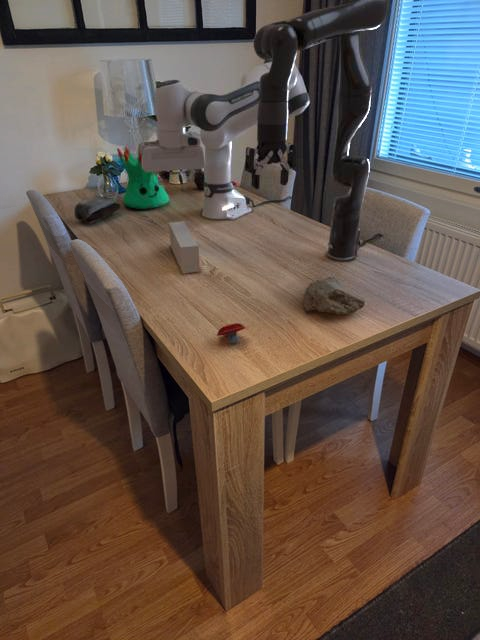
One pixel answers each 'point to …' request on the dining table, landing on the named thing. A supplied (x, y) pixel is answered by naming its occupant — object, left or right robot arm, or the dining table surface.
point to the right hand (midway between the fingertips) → (270, 186)
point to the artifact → (331, 297)
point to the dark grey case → (95, 209)
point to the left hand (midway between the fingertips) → (175, 183)
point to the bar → (184, 247)
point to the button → (231, 331)
